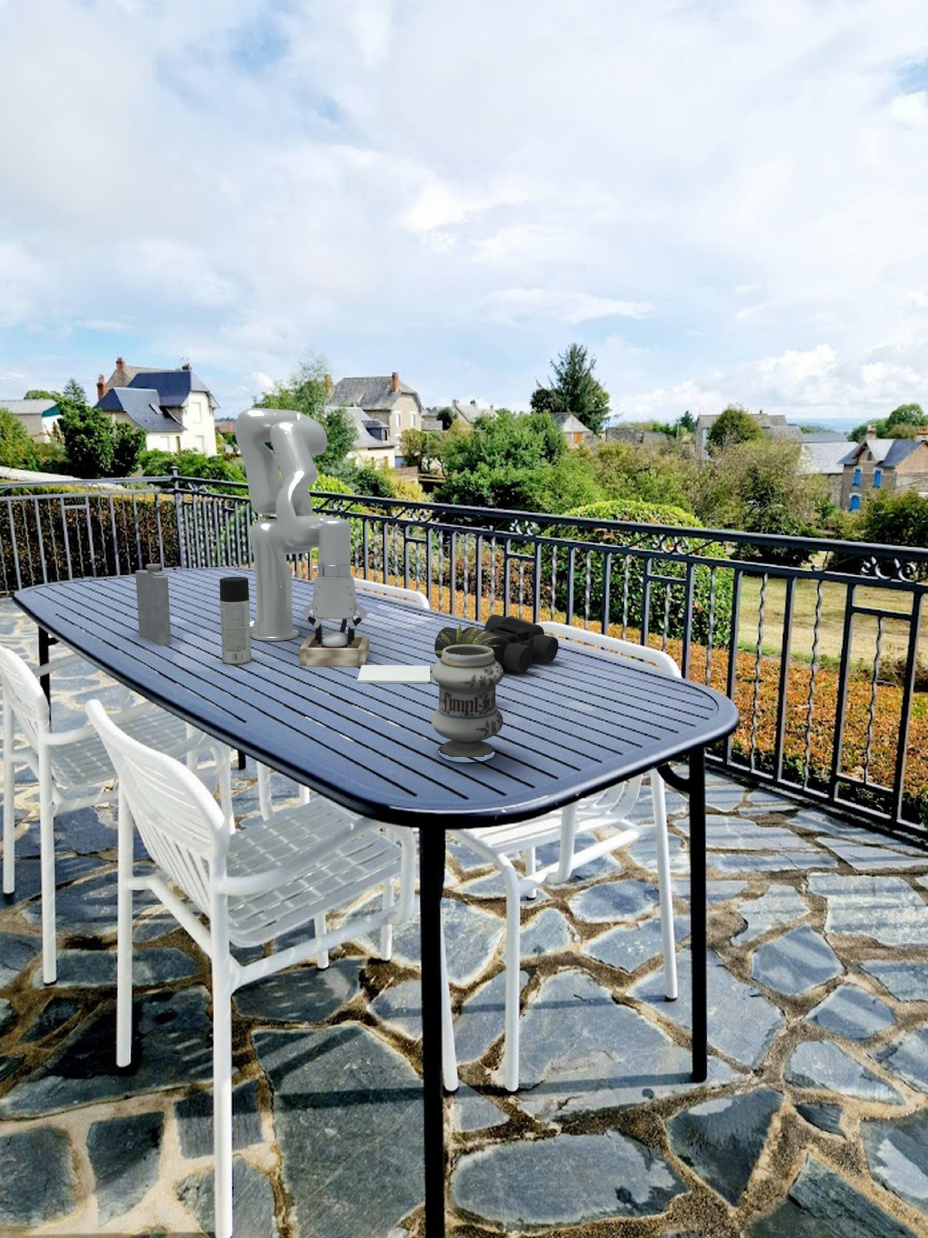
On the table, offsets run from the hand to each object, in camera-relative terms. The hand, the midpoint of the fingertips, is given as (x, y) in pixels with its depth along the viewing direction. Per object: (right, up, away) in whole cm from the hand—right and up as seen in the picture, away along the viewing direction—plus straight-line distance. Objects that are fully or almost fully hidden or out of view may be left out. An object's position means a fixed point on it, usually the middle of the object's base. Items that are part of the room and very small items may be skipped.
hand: (335, 642), depth 194 cm
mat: (+16, -7, -13) cm, 22 cm away
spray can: (-23, -4, -4) cm, 24 cm away
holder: (0, -4, +1) cm, 4 cm away
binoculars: (+41, -5, 0) cm, 41 cm away
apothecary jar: (+32, -17, -60) cm, 70 cm away
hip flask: (-50, 0, +16) cm, 52 cm away
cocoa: (0, -4, +1) cm, 4 cm away
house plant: (+31, -12, -33) cm, 47 cm away
